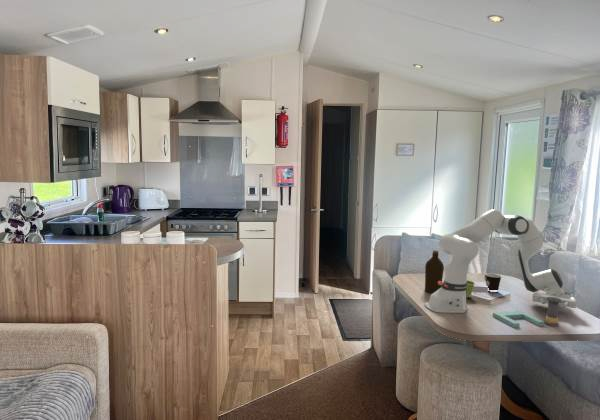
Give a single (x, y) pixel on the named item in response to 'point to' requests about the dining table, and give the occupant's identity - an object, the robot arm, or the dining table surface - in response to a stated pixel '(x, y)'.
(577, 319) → the dining table surface
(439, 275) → the olive oil
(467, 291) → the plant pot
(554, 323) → the door knob
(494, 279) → the coffee mug
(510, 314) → the notched board
